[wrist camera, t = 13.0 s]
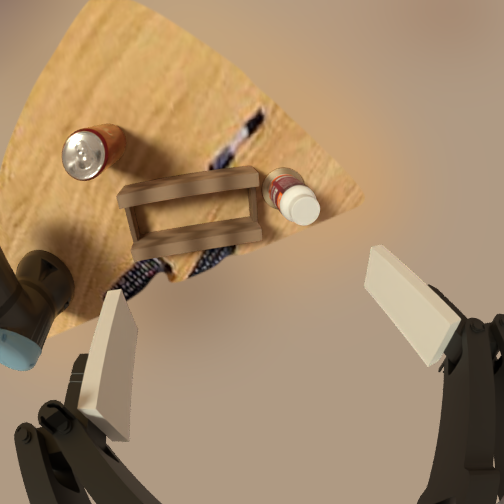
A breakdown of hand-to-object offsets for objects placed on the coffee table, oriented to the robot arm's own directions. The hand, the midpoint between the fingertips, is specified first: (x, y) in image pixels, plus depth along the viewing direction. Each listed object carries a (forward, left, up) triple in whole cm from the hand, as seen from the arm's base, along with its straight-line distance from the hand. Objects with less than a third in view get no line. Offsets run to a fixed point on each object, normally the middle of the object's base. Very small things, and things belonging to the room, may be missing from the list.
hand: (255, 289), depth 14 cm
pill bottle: (+13, -7, -36) cm, 39 cm away
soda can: (-17, +6, -37) cm, 41 cm away
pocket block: (-4, -8, -37) cm, 38 cm away
